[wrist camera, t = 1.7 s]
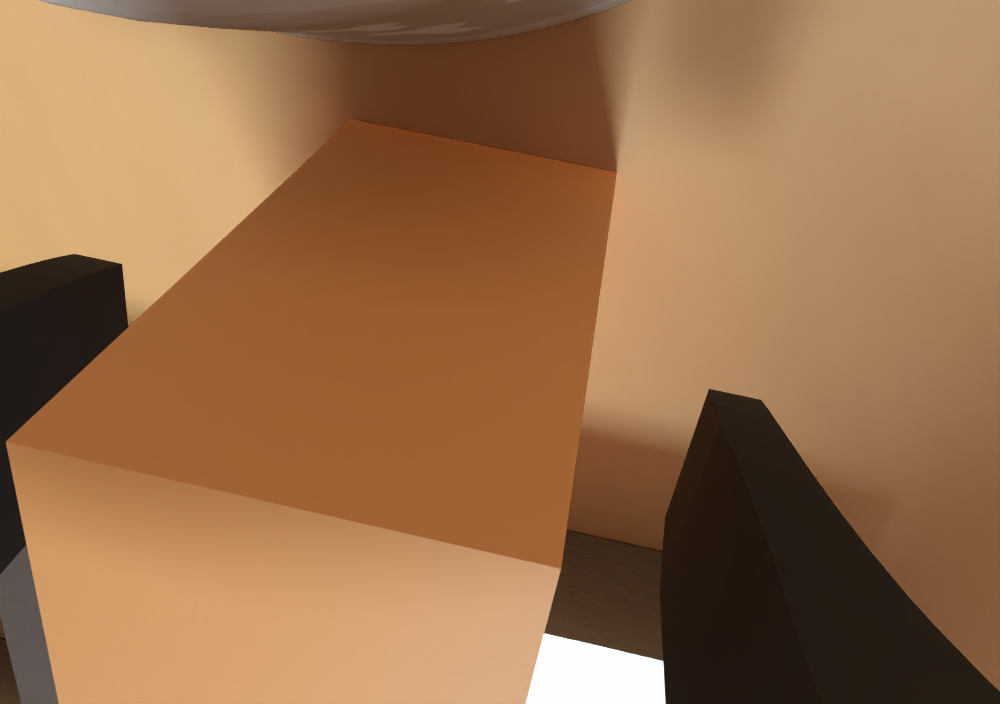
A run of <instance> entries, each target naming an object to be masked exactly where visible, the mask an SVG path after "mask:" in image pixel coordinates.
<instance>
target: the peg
mask: <svg viewBox="0 0 1000 704" xmlns="http://www.w3.org/2000/svg"><path fill="white" fill-rule="evenodd" d="M616 174H617V172H614V171H609V170H604V169H599V168H594V167H589V166H584V165H579V164H574V163H569V162H564V161H559V160H554V159H549V158H544V157H539V156H534V155H529V154H524V153H519V152H514V151H509V150H504V149H499V148H494V147H489V146H484V145H479V144H474V143H469V142H464V141H459V140H454V139H449V138H444V137H439V136H434V135H429V134H424V133H419V132H414V131H409V130H404V129H399V128H394V127H389V126H384V125H379V124H374V123H369V122H364V121H359V120H354V119H351V120H350V121H349V122H348V123H347V124H346V125H345V126H344V127H343V128H342V129H341V130H339V131H338V132H337V133H336V134H335V135H334V136H333V137H332V138H331V139H330V140H329V141H328V142H327V143H326V144H324V145H323V146H322V147H321V148H320V149H319V150H318V151H317V152H316V153H315V154H314V155H313V156H312V157H311V158H309V159H308V160H307V161H306V162H305V163H304V164H303V165H302V166H301V167H300V168H299V169H298V170H297V171H296V172H294V173H293V174H292V175H291V176H290V177H289V178H288V179H287V180H286V181H285V182H284V183H283V184H282V185H280V186H279V187H278V188H277V189H276V190H275V191H274V192H273V193H272V194H271V195H270V196H269V197H268V198H267V199H265V200H264V201H263V202H262V203H261V204H260V205H259V206H258V207H257V208H256V209H255V210H254V211H253V212H252V213H250V214H249V215H248V216H247V217H246V218H245V219H244V220H243V221H242V222H241V223H240V224H239V225H238V226H237V227H235V228H234V229H233V230H232V231H231V232H230V233H229V234H228V235H227V236H226V237H225V238H224V239H223V240H221V241H220V242H219V243H218V244H217V245H216V246H215V247H214V248H213V249H212V250H211V251H210V252H209V253H208V254H206V255H205V256H204V257H203V258H202V259H201V260H200V261H199V262H198V263H197V264H196V265H195V266H194V267H193V268H191V269H190V270H189V271H188V272H187V273H186V274H185V275H184V276H183V277H182V278H181V279H180V280H179V281H178V282H176V283H175V284H174V285H173V286H172V287H171V288H170V289H169V290H168V291H167V292H166V293H165V294H164V295H162V296H161V297H160V298H159V299H158V300H157V301H156V302H155V303H154V304H153V305H152V306H151V307H150V308H149V309H147V310H146V311H145V312H144V313H143V314H142V315H141V316H140V317H139V318H138V319H137V320H136V321H135V322H134V323H132V324H131V325H130V326H129V327H128V328H127V329H126V330H125V331H124V332H123V333H122V334H121V335H120V336H118V337H117V338H116V339H115V340H114V341H113V342H112V343H111V344H110V345H109V346H108V347H107V348H106V349H105V350H103V351H102V352H101V353H100V354H99V355H98V356H97V357H96V358H95V359H94V360H93V361H92V362H91V363H90V364H88V365H87V366H86V367H85V368H84V369H83V370H82V371H81V372H80V373H79V374H78V375H77V376H76V377H75V378H73V379H72V380H71V381H70V382H69V383H68V384H67V385H66V386H65V387H64V388H63V389H62V390H61V391H59V392H58V393H57V394H56V395H55V396H54V397H53V398H52V399H51V400H50V401H49V402H48V403H47V404H46V405H44V406H43V407H42V408H41V409H40V410H39V411H38V412H37V413H36V414H35V415H34V416H33V417H32V418H31V419H29V420H28V421H27V422H26V423H25V424H24V425H23V426H22V427H21V428H20V429H19V430H18V431H17V432H16V433H14V434H13V435H12V436H11V437H10V438H9V439H8V440H7V441H6V446H7V451H8V456H9V461H10V466H11V471H12V475H13V480H14V485H15V490H16V495H17V500H18V505H19V510H20V515H21V520H22V525H23V530H24V535H25V540H26V545H27V549H28V554H29V559H30V564H31V569H32V574H33V579H34V584H35V589H36V594H37V599H38V604H39V609H40V614H41V619H42V623H43V628H44V633H45V638H46V643H47V648H48V653H49V658H50V663H51V668H52V673H53V678H54V683H55V688H56V693H57V698H58V702H59V704H526V700H527V696H528V693H529V689H530V685H531V681H532V677H533V674H534V670H535V666H536V662H537V658H538V655H539V651H540V647H541V643H542V639H543V636H544V632H545V628H546V624H547V620H548V617H549V613H550V609H551V605H552V602H553V598H554V594H555V590H556V586H557V583H558V579H559V575H560V571H561V566H562V559H563V552H564V545H565V538H566V530H567V523H568V516H569V509H570V502H571V495H572V488H573V481H574V473H575V466H576V459H577V452H578V445H579V438H580V431H581V424H582V416H583V409H584V402H585V395H586V388H587V381H588V374H589V367H590V360H591V352H592V345H593V338H594V331H595V324H596V317H597V310H598V303H599V295H600V288H601V281H602V274H603V267H604V260H605V253H606V246H607V238H608V231H609V224H610V217H611V210H612V203H613V196H614V189H615V182H616Z"/></svg>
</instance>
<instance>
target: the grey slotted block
mask: <svg viewBox="0 0 1000 704" xmlns="http://www.w3.org/2000/svg"><path fill="white" fill-rule="evenodd" d="M661 565H662V552H660V551H655V550H651V549H647V548H642V547H638V546H633V545H629V544H624V543H620V542H616V541H611V540H607V539H602V538H598V537H593V536H589V535H585V534H580V533H576V532H571V531H567V530H566V538H565V545H564V552H563V559H562V566H561V571H560V575H559V579H558V583H557V586H556V590H555V594H554V598H553V602H552V605H551V609H550V613H549V617H548V620H547V624H546V628H545V632H544V636H543V639H542V643H541V647H540V651H539V655H538V658H537V662H536V666H535V670H534V674H533V677H532V681H531V685H530V689H529V693H528V696H527V700H526V704H666V702H665V685H664V667H663V649H662V629H661V609H660V581H661ZM0 617H1V621H2V626H3V630H4V634H5V638H6V640H4V639H0V704H59V702H58V698H57V693H56V688H55V683H54V678H53V673H52V668H51V663H50V658H49V653H48V648H47V643H46V638H45V633H44V628H43V623H42V619H41V614H40V609H39V604H38V599H37V594H36V589H35V584H34V579H33V574H32V569H31V564H30V559H29V554H28V549H27V545H26V546H25V547H24V548H23V549H22V550H21V551H20V552H19V554H18V555H17V556H16V557H15V558H14V559H13V561H12V562H11V563H10V564H9V565H8V566H7V567H6V569H5V570H4V571H3V572H2V573H1V574H0Z"/></svg>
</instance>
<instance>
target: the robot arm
mask: <svg viewBox="0 0 1000 704" xmlns="http://www.w3.org/2000/svg"><path fill="white" fill-rule="evenodd" d="M127 328H128V320H127V310H126V300H125V290H124V280H123V270H122V264H119V263H114V262H110V261H105V260H100V259H96V258H91V257H86V256H81V255H77V254H72V255H67V256H62V257H57V258H52V259H48V260H44V261H40V262H36V263H33V264H29V265H25V266H22V267H18V268H15V269H11V270H8V271H4V272H1V273H0V574H1V573H2V572H3V571H4V570H5V569H6V567H7V566H8V565H9V564H10V563H11V562H12V561H13V559H14V558H15V557H16V556H17V555H18V554H19V552H20V551H21V550H22V549H23V548H24V547H25V546H26V540H25V535H24V530H23V525H22V520H21V515H20V510H19V505H18V500H17V495H16V490H15V485H14V480H13V475H12V471H11V466H10V461H9V456H8V451H7V446H6V441H7V440H8V439H9V438H10V437H11V436H12V435H13V434H14V433H16V432H17V431H18V430H19V429H20V428H21V427H22V426H23V425H24V424H25V423H26V422H27V421H28V420H29V419H31V418H32V417H33V416H34V415H35V414H36V413H37V412H38V411H39V410H40V409H41V408H42V407H43V406H44V405H46V404H47V403H48V402H49V401H50V400H51V399H52V398H53V397H54V396H55V395H56V394H57V393H58V392H59V391H61V390H62V389H63V388H64V387H65V386H66V385H67V384H68V383H69V382H70V381H71V380H72V379H73V378H75V377H76V376H77V375H78V374H79V373H80V372H81V371H82V370H83V369H84V368H85V367H86V366H87V365H88V364H90V363H91V362H92V361H93V360H94V359H95V358H96V357H97V356H98V355H99V354H100V353H101V352H102V351H103V350H105V349H106V348H107V347H108V346H109V345H110V344H111V343H112V342H113V341H114V340H115V339H116V338H117V337H118V336H120V335H121V334H122V333H123V332H124V331H125V330H126V329H127ZM660 609H661V629H662V649H663V667H664V685H665V702H666V704H1000V691H998V690H997V689H996V688H995V687H994V686H993V685H992V684H991V683H990V682H989V681H988V680H987V679H986V678H985V677H984V676H983V675H982V674H981V673H980V672H979V671H978V670H977V669H976V668H975V667H974V666H973V665H972V664H971V663H970V662H969V661H968V660H967V659H966V658H965V656H964V655H963V654H962V653H961V652H960V651H959V650H958V649H957V648H956V647H955V646H954V645H953V644H952V643H951V642H950V641H949V640H948V639H947V638H946V637H945V636H944V635H943V634H942V633H941V632H940V631H939V630H938V629H937V628H936V627H935V626H934V624H933V623H932V622H931V621H930V620H929V619H928V618H927V617H926V616H925V615H924V613H923V612H922V611H921V610H920V609H919V608H918V607H917V606H916V605H915V604H914V602H913V601H912V600H911V599H910V598H909V597H908V596H907V594H906V593H905V592H904V591H903V590H902V588H901V587H900V586H899V585H898V584H897V582H896V581H895V580H894V579H893V578H892V576H891V575H890V574H889V573H888V572H887V571H886V569H885V568H884V567H883V566H882V565H881V563H880V562H879V561H878V560H877V559H876V557H875V556H874V555H873V554H872V553H871V551H870V550H869V549H868V548H867V546H866V545H865V544H864V542H863V541H862V540H861V539H860V537H859V536H858V535H857V534H856V532H855V531H854V530H853V528H852V527H851V526H850V524H849V523H848V522H847V521H846V519H845V518H844V517H843V515H842V514H841V513H840V511H839V510H838V509H837V507H836V506H835V504H834V503H833V502H832V500H831V499H830V498H829V496H828V495H827V494H826V492H825V491H824V489H823V488H822V487H821V485H820V484H819V482H818V481H817V480H816V478H815V477H814V475H813V474H812V473H811V471H810V470H809V468H808V467H807V465H806V464H805V462H804V461H803V460H802V458H801V457H800V455H799V454H798V452H797V451H796V449H795V448H794V446H793V445H792V444H791V442H790V441H789V439H788V438H787V436H786V435H785V433H784V432H783V430H782V429H781V427H780V426H779V424H778V423H777V422H776V420H775V419H774V417H773V416H772V414H771V413H770V411H769V410H768V409H767V407H766V406H765V404H764V403H763V402H762V400H759V399H754V398H749V397H745V396H740V395H735V394H730V393H726V392H721V391H716V390H712V389H709V391H708V394H707V397H706V400H705V403H704V406H703V408H702V411H701V414H700V417H699V420H698V423H697V426H696V429H695V432H694V435H693V438H692V441H691V444H690V447H689V449H688V452H687V455H686V458H685V461H684V464H683V467H682V470H681V473H680V476H679V479H678V482H677V485H676V488H675V490H674V493H673V496H672V499H671V502H670V505H669V508H668V511H667V514H666V517H665V527H664V540H663V552H662V565H661V581H660Z"/></svg>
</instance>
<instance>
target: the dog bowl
mask: <svg viewBox="0 0 1000 704" xmlns="http://www.w3.org/2000/svg"><path fill="white" fill-rule="evenodd" d="M40 1H43V2H47V3H50V4H54V5H58V6H63V7H69V8H74V9H79V10H84V11H90V12H95V13H100V14H105V15H111V16H116V17H121V18H126V19H131V20H137V21H146V22H157V23H167V24H178V25H189V26H199V27H210V28H221V29H238V30H255V31H272V32H277V33H283V34H289V35H294V36H300V37H306V38H314V39H321V40H328V41H340V42H352V43H365V44H384V45H434V44H449V43H461V42H471V41H481V40H490V39H495V38H500V37H506V36H511V35H516V34H521V33H526V32H530V31H534V30H539V29H543V28H548V27H552V26H556V25H559V24H563V23H566V22H569V21H573V20H576V19H579V18H582V17H585V16H588V15H593V14H596V13H599V12H602V11H605V10H608V9H611V8H613V7H616V6H618V5H621V4H623V3H626V2H629V1H631V0H40Z"/></svg>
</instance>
